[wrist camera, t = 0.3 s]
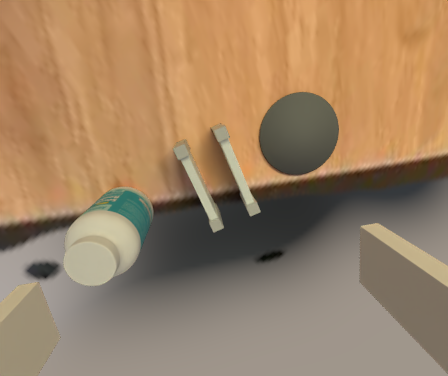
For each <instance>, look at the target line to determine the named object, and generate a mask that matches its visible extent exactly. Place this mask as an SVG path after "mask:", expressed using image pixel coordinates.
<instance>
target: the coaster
mask: <svg viewBox="0 0 448 376" xmlns="http://www.w3.org/2000/svg"><path fill="white" fill-rule="evenodd" d="M338 133H339V126H338V120H337V117H336V114H335V112H334V110H333V108H332V107H331V105H330V104H329V103H328V102H327V101H326V100H324V99H323V98H322V97H320V96H318V95H315V94H312V93H307V92H299V93H293V94H290V95H287V96H285V97H283V98H281V99H280V100H278V101H277V102H276V103H275V104H273V105H272V106H271V108H270V109H269V110H268V112H267V113H266V115H265V117H264V119H263V121H262V124H261V128H260V146H261V149H262V152H263V154H264V156H265V158H266V159H267V161H268V162H269V163H270V164H271V165H272V166H273V167H275V168H276V169H278V170H279V171H282V172H284V173H287V174H304V173H308V172H311V171H313V170H315V169H317V168H318V167H320V166H321V165H322V164H323V163H325V161H326V160H327V159H328V158H329V157H330V155H331V154H332V152H333V150H334V148H335V146H336V143H337V140H338Z"/></svg>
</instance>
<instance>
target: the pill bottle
mask: <svg viewBox="0 0 448 376" xmlns="http://www.w3.org/2000/svg"><path fill="white" fill-rule="evenodd" d="M152 220H153V207H152V204H151V202H150V200H149V199H148V197H147V196H146V195H145V194H144V193H142V192H141V191H139V190H137V189H135V188H132V187H117V188H114V189H111V190H109V191H108V192H106V193H105V194H104V195H103V196H102V197H101V198H100V199H99V200H98V201H96V202H95V203H94V204H93V205H92V206H91V207H90V208H89V209H88V210H87V211H85V212H84V213H83V214H82V215H81V216H80V217H79V218H78V219H77V220H76V221H75V222H74V223H73V224H72V225H71V226H70V228H69V229H68V231H67V233H66V236H65V242H64V247H65V256H64V260H63V265H64V269H65V271H66V273H67V274H68V276H69V277H70V278H71V279H72V280H74V281H75V282H77V283H80V284H82V285H86V286H98V285H101V284H104V283H106V282H108V281H109V280H110V279H111V278H112V277H115V276H118V275H120V274H122V273H124V272H125V271H127V270H128V269H129V268H130V267H131V266H132V265H133V264H134V262H135V261H136V259H137V257H138V255H139V253H140V250H141V248H142V245H143V243H144V240H145V237H146V235H147V233H148V230H149V228H150V225H151V223H152Z"/></svg>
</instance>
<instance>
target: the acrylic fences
mask: <svg viewBox="0 0 448 376" xmlns="http://www.w3.org/2000/svg"><path fill="white" fill-rule="evenodd" d="M211 129H212V132H213V134H214V136H215V138H216V139H217V141H218V142H219V144H220V146H221V149H222V151H223V153H224V156H225V158H226V160H227V163H228V165H229V167H230V170H231V172H232V174H233V177H234V179H235V181H236V184H237V186H238V188H239V191H240V193H239V194H240V197H241V199H242V201H243V203H244V205H245V207H246V209H247V211H248V213H249V215H250V216H252V215H255V214H257V213H260V209H259V207H258V204H257V202H256V201H255V199H254V198H253V196H252V195H251V193H250V190H249V188H248V185H247V183H246V180H245V178H244V176H243V173H242V171H241V168H240V166H239V164H238V161H237V159H236V156H235V154H234V152H233V149H232V147H231V144H230V142H229V140H228V138H230V136H229V134H228V132H227V129H226V127H225V125H223V124H221V123H220V124H218V125H216V126H213V127H211ZM173 150H174V152H175V155H176V157H177V159H178V160H180V159H181V161H182V163H183V165H184V167H185V170H186V172H187V174H188V176H189V178H190V180H191V182H192V184H193V186H194V188H195V190H196V192H197V194H198V196H199V198H200V200H201V203H202V205H203V207H204V209H205V211H206V213H207V215H208V218H209V224H210V226H211V228H212V230H213V232H216V231H218V230H221V229H223V228H224V226H223V222H222V218H221V214H220V211H219V209H218V206H217V204H215V203H214V201H213V199H212V197H211V195H210V193H209V190H208V188H207V186H206V184H205V182H204V180H203V178H202V176H201V173H200V171H199V169H198V167H197V165H196V163H195V161H194V158H193V156H192V154H191V152H190V146H189V144H188V142H187V140H186V139H184V140H182V141H180V142H177V143H176V144H175V146H174V148H173Z"/></svg>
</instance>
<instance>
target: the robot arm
mask: <svg viewBox="0 0 448 376" xmlns="http://www.w3.org/2000/svg"><path fill="white" fill-rule="evenodd" d="M360 283H361V284H362V285H363V286H364V287H365V288H366V289H367V290H368V291H369V292H370V293H371V294H372V295H373V296H374V298H375V299H376V300H377V301H379V303H380V304H381V305H382V306H383V307H384V308H385V309H386V310H387V311H388V312H389V313H390V314H391V315H392V316H393V317H394V318H395V319H396V320H397V321H398V323H399V324H400V325H401V326H402V327H403V328H404V329H405V330H406V331H407V332H408V333H409V334H410V335H411V336H412V337H413V338H414V339H415V340H416V341H417V342H418V343H419V344H420V345H421V346H422V348H424V350H426V352H427V353H428V354H429V355H430V356H431V357H432V358H433V359H434V360H435V361H436V362H437V363H438V364H439V365H440V366H441V367H442V368H443V369H444V370H445V371H446V373H447V374H448V266H447V265H445V264H444V263H442V262H440V261H439V260H437V259H435V258H434V257H432V256H430V255H429V254H427V253H426V252H424V251H422V250H421V249H419V248H417V247H416V246H414V245H413V244H411V243H409V242H407V241H406V240H404V239H403V238H401V237H399V236H398V235H396V234H395V233H393V232H391V231H390V230H388V229H386V228H385V227H383V226H382V225H380V224H378V223H376V224H370V225H364V226H360ZM60 338H61V337H60V335H59V332H58V330H57V327H56V325H55V322H54V320H53V317H52V314H51V312H50V310H49V307H48V304H47V302H46V299H45V297H44V294H43V292H42V289H41V287H40V284H39V282H35V283H30V284H24V285H18V286H17V287H16V288H15V289H14V290H13V291H12V292H11V293H10V294H9V295H8V296H7V297H6V298H5V299H4V300H3V301H2V302H1V303H0V376H38V374H39V373H40V371H41V369H42V368H43V366H44V364H45V363H46V361H47V359H48V358H49V356H50V354H51V353H52V351H53V349H54V348H55V346H56V344H57V343H58V341H59V339H60Z"/></svg>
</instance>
